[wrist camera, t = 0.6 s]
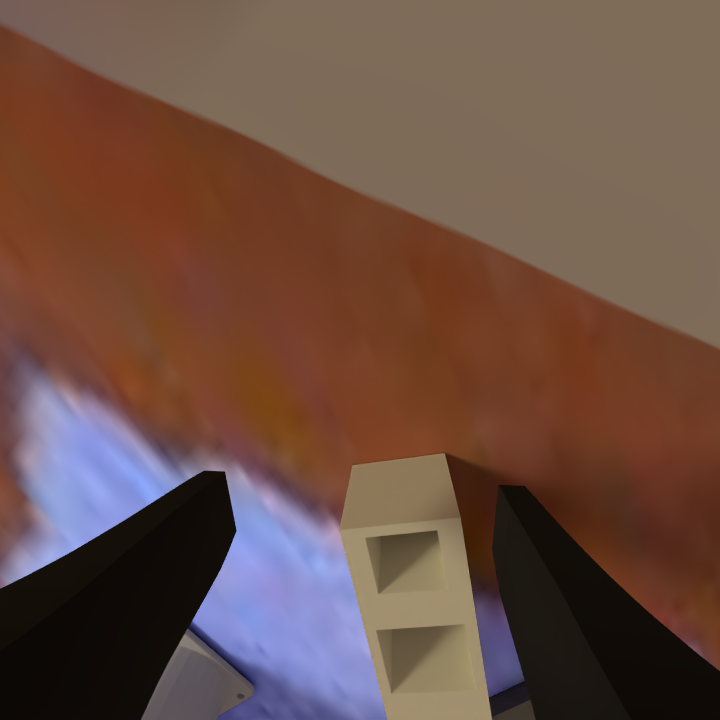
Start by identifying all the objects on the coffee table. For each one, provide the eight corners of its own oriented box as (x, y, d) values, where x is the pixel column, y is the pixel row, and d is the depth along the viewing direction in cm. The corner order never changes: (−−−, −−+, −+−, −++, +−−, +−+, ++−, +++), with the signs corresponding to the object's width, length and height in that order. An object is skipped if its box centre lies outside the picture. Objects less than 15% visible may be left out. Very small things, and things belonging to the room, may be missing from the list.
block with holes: (478, 664, 23) (499, 769, 19) (399, 668, 24) (400, 770, 19) (444, 453, 20) (460, 517, 15) (352, 465, 20) (339, 530, 16)
